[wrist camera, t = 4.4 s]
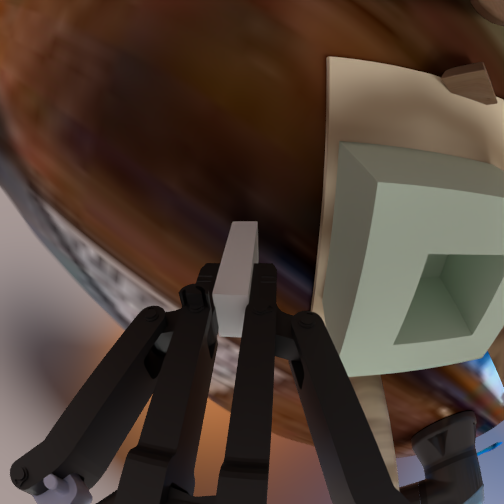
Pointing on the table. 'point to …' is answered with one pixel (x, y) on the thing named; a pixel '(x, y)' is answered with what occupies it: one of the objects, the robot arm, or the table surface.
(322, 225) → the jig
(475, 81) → the wooden block set
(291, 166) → the table surface
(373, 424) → the dowel
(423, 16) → the table surface
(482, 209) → the sliding block
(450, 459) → the robot arm
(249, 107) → the table surface
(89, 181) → the table surface
